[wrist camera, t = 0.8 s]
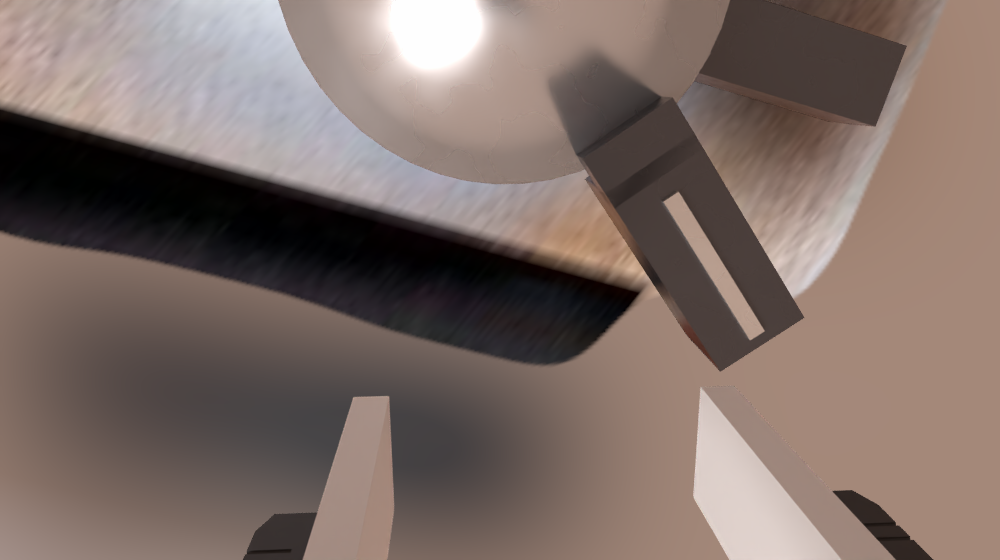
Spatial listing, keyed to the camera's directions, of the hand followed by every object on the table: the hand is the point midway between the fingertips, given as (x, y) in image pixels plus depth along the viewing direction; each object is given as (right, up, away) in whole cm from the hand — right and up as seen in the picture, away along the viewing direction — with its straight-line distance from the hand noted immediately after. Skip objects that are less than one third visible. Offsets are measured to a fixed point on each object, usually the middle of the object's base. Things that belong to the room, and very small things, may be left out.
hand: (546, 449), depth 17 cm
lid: (+1, +12, +11) cm, 16 cm away
